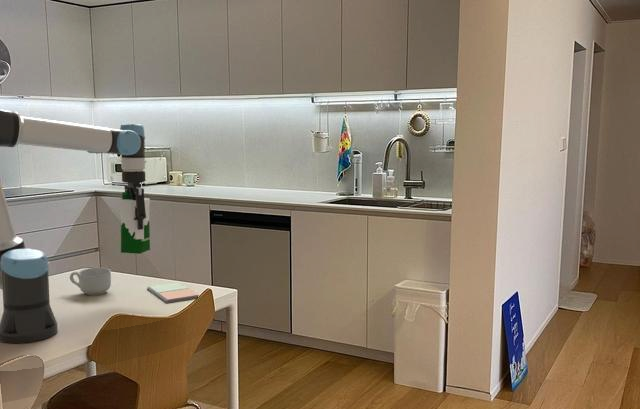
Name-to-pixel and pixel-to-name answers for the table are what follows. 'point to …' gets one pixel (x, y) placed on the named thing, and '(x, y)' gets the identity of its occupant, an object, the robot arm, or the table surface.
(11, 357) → the table surface
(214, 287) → the table surface
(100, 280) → the teacup
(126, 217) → the soya milk
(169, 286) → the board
